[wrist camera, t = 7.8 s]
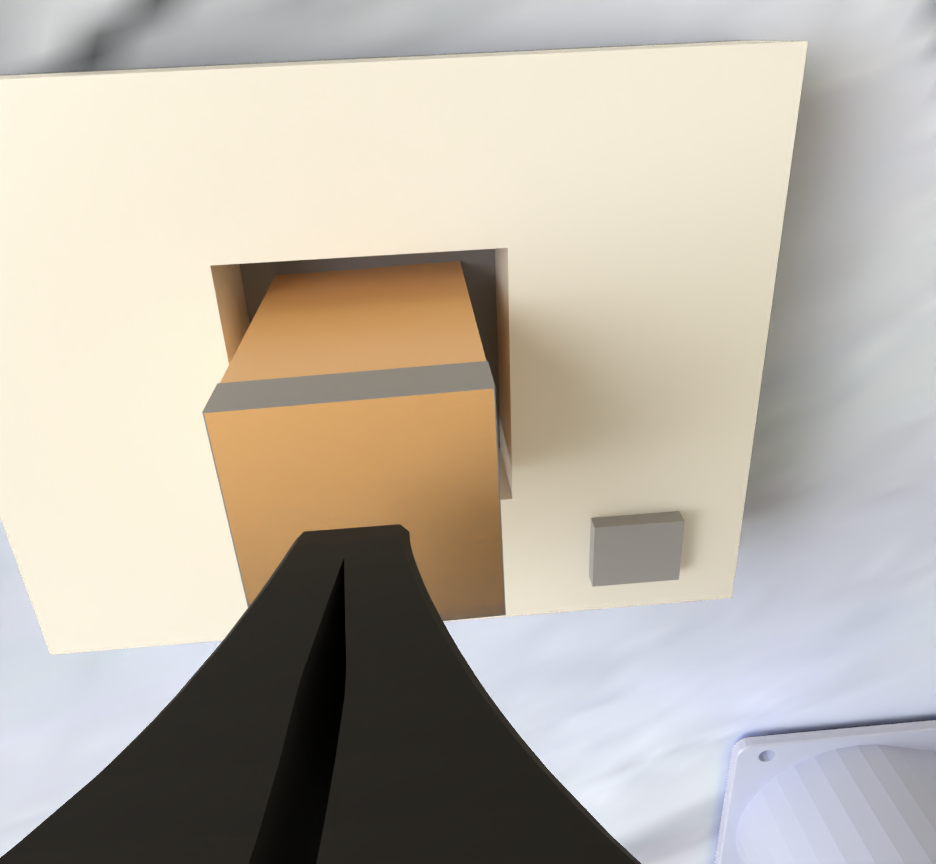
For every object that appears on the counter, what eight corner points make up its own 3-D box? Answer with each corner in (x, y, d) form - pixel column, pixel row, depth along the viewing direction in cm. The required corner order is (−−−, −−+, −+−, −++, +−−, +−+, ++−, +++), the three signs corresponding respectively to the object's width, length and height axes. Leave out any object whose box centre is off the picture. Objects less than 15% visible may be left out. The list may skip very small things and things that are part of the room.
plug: (460, 260, 17) (495, 386, 11) (471, 425, 19) (506, 615, 13) (274, 274, 17) (201, 411, 11) (302, 440, 19) (255, 640, 13)
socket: (740, 39, 16) (818, 41, 13) (690, 528, 22) (737, 608, 19) (-61, 77, 15) (-173, 87, 12) (95, 575, 21) (43, 667, 18)
